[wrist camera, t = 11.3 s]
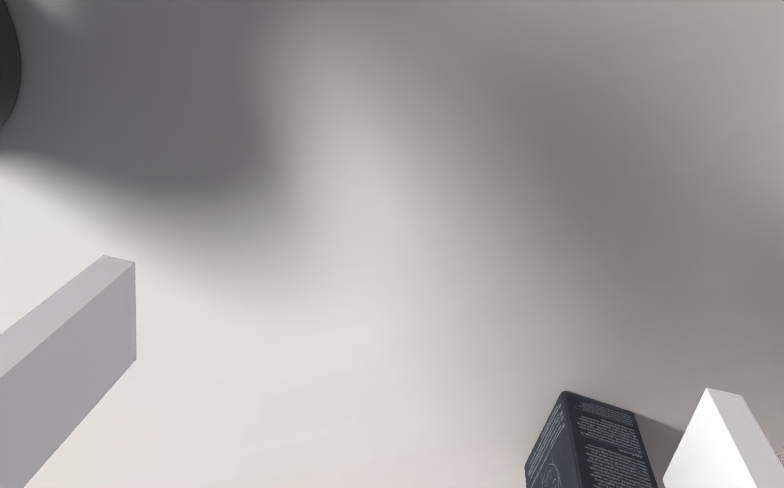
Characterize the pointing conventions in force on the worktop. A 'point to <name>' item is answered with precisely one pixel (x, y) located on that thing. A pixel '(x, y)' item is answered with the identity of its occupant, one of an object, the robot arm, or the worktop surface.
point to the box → (589, 448)
